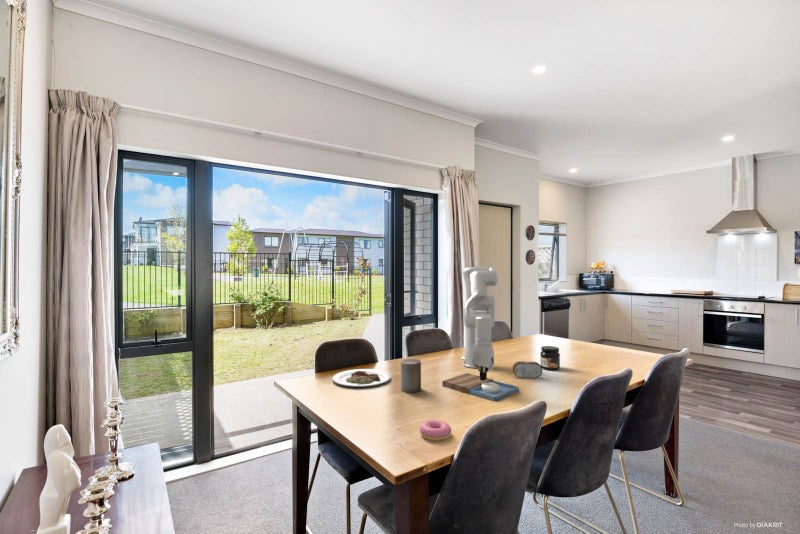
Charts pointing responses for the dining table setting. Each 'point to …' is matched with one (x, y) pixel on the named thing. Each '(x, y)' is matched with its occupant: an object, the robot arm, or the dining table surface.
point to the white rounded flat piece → (490, 387)
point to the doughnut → (435, 430)
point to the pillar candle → (411, 375)
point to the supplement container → (550, 358)
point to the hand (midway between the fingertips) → (483, 379)
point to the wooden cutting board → (464, 382)
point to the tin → (527, 369)
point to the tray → (503, 392)
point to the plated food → (361, 377)
